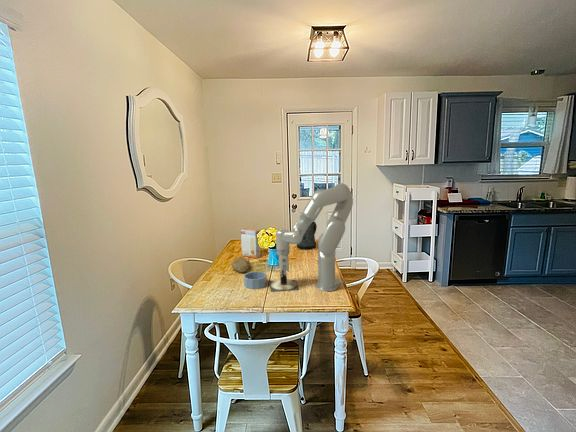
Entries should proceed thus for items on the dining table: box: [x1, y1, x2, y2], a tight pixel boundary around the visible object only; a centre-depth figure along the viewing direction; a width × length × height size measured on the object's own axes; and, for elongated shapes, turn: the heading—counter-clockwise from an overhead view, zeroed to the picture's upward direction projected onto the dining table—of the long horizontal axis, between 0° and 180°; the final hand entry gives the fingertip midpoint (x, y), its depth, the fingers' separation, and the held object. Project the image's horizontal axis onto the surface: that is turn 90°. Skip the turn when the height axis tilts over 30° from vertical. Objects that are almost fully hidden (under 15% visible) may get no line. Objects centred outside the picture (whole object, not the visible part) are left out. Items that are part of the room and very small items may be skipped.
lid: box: [271, 275, 298, 292], centre depth 181 cm, size 15×15×6 cm
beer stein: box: [296, 221, 318, 251], centre depth 261 cm, size 16×19×25 cm
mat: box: [268, 279, 300, 293], centre depth 181 cm, size 16×16×1 cm
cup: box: [243, 271, 268, 290], centre depth 183 cm, size 13×13×6 cm
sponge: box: [231, 256, 250, 273], centre depth 211 cm, size 13×8×20 cm
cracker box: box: [240, 228, 261, 259], centre depth 237 cm, size 14×6×21 cm, turn 58°
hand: (283, 281), depth 181 cm, fingers closed on lid, 3 cm apart
